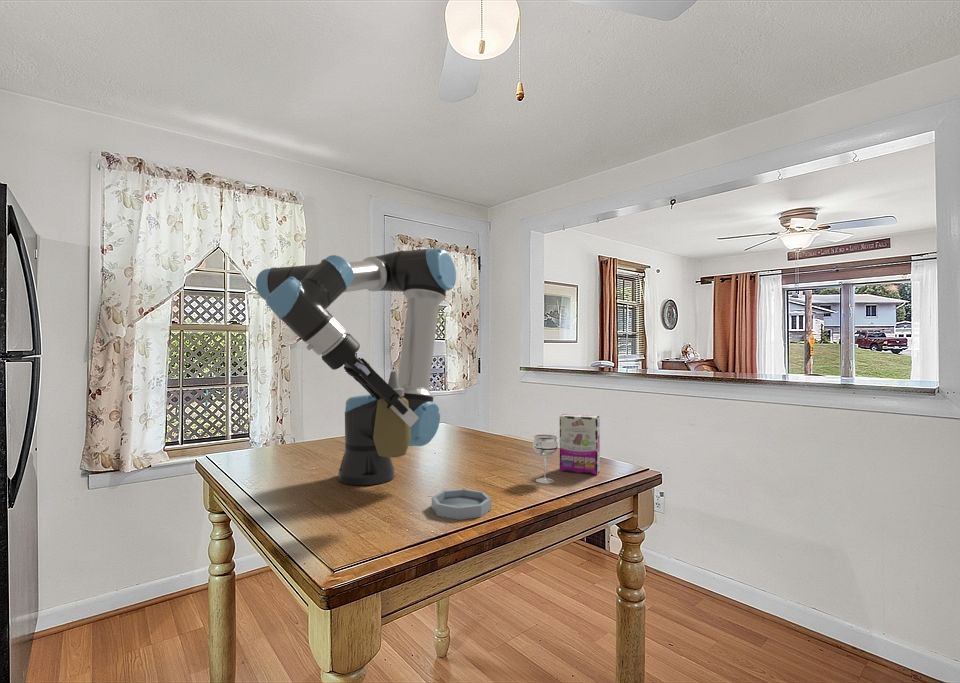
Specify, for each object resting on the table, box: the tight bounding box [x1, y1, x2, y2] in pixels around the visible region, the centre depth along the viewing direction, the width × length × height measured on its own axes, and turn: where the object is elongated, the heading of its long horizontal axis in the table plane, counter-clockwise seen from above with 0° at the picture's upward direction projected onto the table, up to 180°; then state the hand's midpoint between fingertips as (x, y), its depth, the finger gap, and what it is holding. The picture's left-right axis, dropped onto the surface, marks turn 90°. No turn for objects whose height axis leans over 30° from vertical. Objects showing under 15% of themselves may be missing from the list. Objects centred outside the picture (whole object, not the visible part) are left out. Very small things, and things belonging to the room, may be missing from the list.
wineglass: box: [532, 434, 559, 484], centre depth 135 cm, size 7×7×12 cm
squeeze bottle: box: [373, 370, 411, 459], centre depth 106 cm, size 8×8×18 cm
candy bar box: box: [559, 413, 601, 475], centre depth 145 cm, size 11×5×16 cm, turn 68°
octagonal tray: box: [431, 488, 492, 521], centre depth 113 cm, size 13×13×2 cm
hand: (408, 419), depth 108 cm, fingers closed on squeeze bottle, 6 cm apart
